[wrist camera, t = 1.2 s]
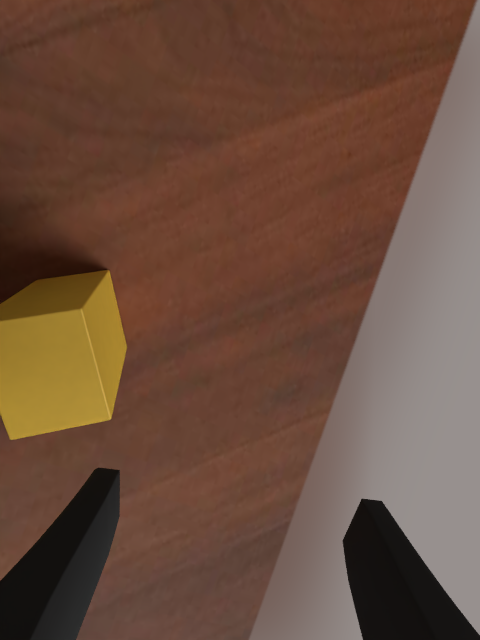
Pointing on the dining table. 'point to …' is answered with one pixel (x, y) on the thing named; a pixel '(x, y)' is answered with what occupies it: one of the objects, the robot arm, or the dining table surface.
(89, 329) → the block
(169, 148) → the dining table surface
